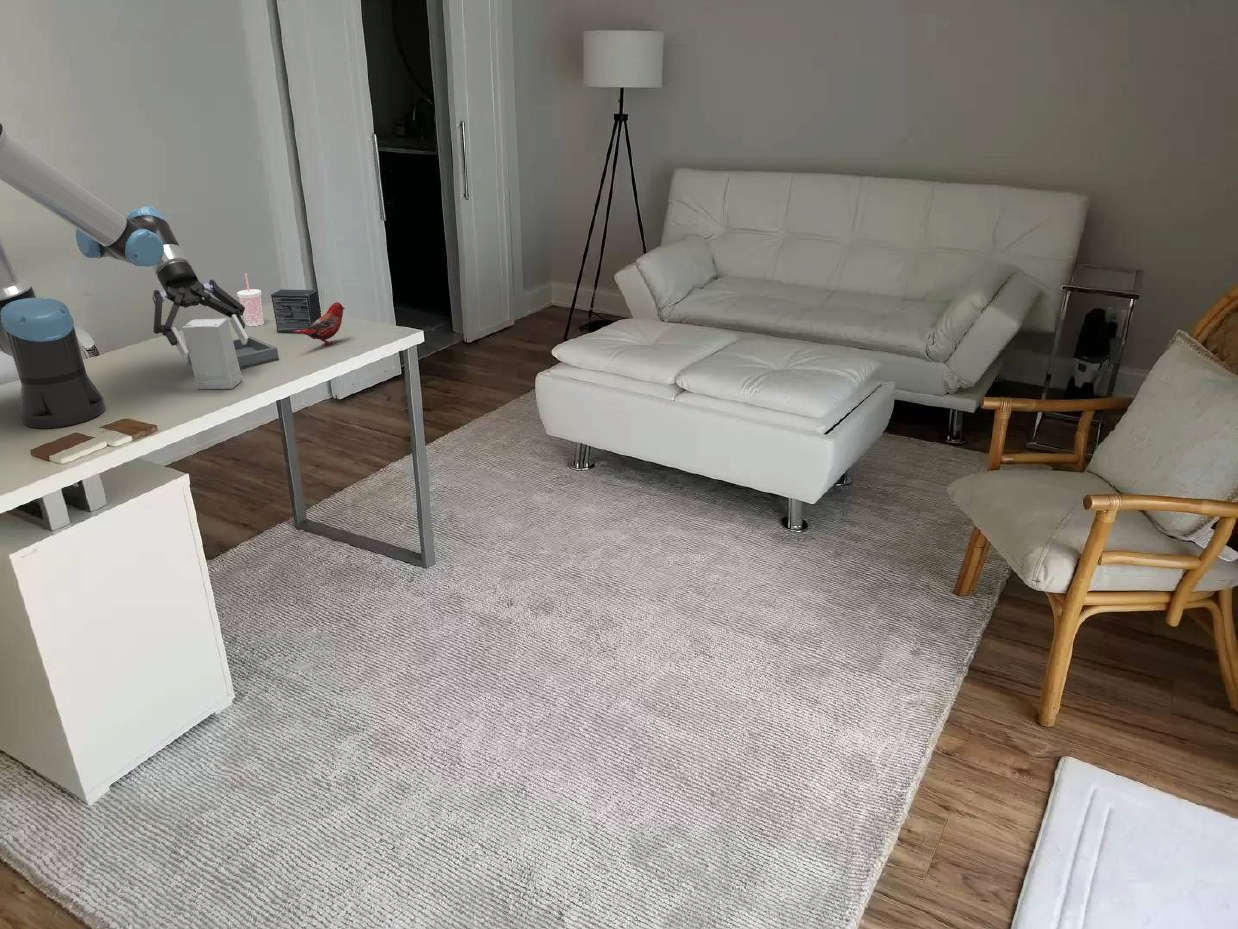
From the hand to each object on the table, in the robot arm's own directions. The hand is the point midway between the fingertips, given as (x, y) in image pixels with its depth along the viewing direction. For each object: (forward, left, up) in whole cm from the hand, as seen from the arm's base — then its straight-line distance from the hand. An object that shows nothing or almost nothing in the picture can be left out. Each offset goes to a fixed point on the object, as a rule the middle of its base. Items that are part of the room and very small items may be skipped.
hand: (216, 348), depth 200 cm
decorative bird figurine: (+29, +8, -8) cm, 32 cm away
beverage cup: (+27, +39, -8) cm, 48 cm away
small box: (+33, +25, -8) cm, 42 cm away
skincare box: (-1, -1, -8) cm, 9 cm away
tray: (+9, +13, -8) cm, 18 cm away
